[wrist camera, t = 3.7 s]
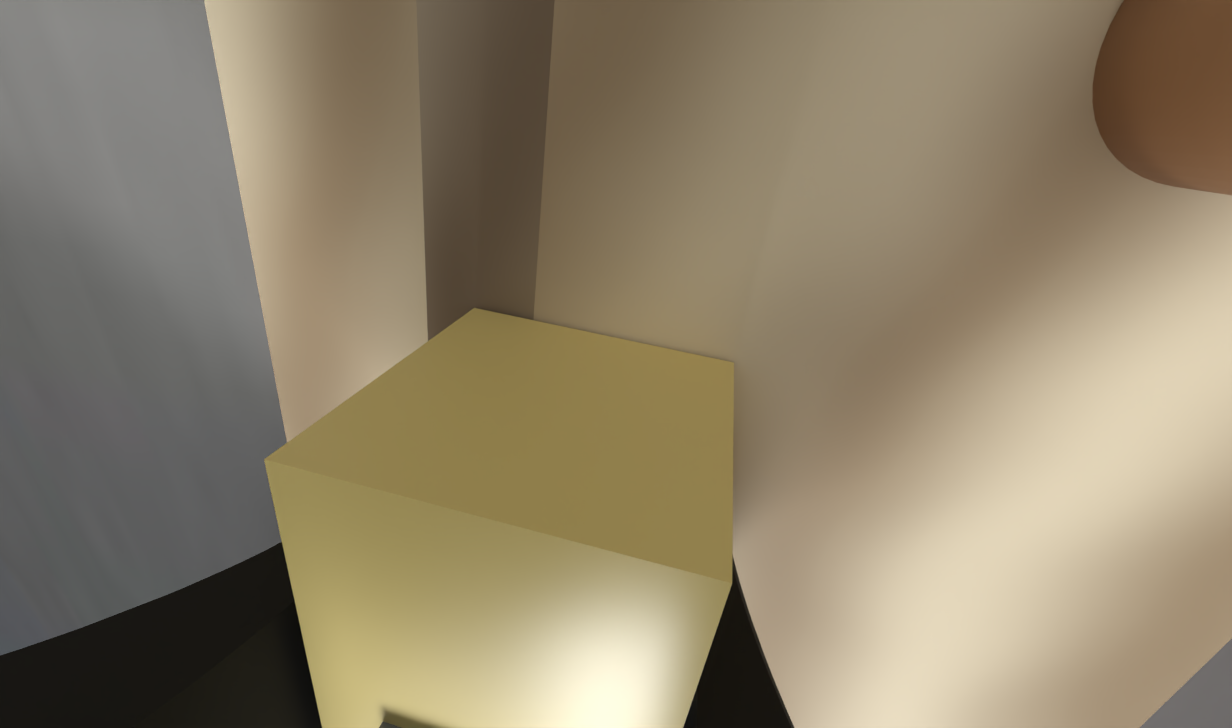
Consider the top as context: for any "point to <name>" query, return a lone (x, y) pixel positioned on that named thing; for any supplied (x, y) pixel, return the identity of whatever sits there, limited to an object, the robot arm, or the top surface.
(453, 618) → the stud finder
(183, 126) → the top surface
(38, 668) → the robot arm
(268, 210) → the plywood panel
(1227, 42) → the brown jar
